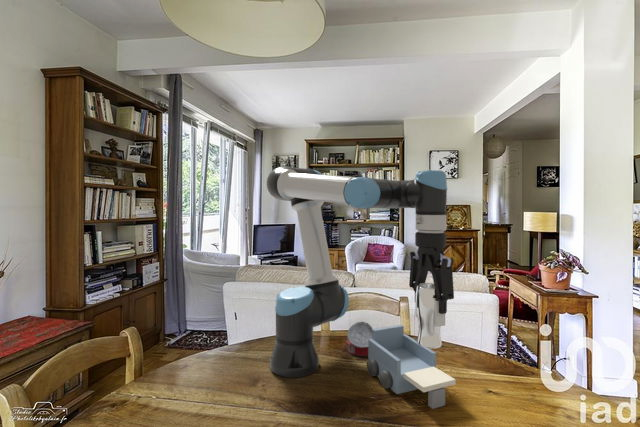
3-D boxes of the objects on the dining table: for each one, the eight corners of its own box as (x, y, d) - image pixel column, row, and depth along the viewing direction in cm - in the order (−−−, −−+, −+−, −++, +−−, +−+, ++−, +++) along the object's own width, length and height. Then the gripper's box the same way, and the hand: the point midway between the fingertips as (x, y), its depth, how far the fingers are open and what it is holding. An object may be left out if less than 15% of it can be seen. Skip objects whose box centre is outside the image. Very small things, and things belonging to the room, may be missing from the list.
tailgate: (403, 373, 87) (423, 387, 80) (433, 366, 91) (455, 379, 84) (403, 378, 87) (423, 393, 80) (433, 371, 91) (455, 385, 83)
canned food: (373, 360, 117) (387, 338, 114) (358, 368, 109) (372, 344, 107) (351, 338, 124) (363, 316, 121) (335, 343, 116) (347, 321, 113)
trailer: (363, 369, 101) (363, 330, 101) (407, 360, 107) (408, 323, 107) (411, 414, 79) (412, 365, 79) (463, 400, 85) (464, 354, 85)
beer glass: (445, 350, 81) (446, 290, 81) (416, 348, 82) (417, 288, 82) (441, 339, 88) (442, 283, 87) (414, 337, 89) (414, 281, 89)
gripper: (395, 229, 92) (395, 311, 93) (446, 235, 74) (445, 337, 74) (417, 228, 95) (417, 308, 95) (472, 234, 77) (470, 332, 77)
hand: (429, 320), depth 85 cm, fingers closed on beer glass, 7 cm apart
